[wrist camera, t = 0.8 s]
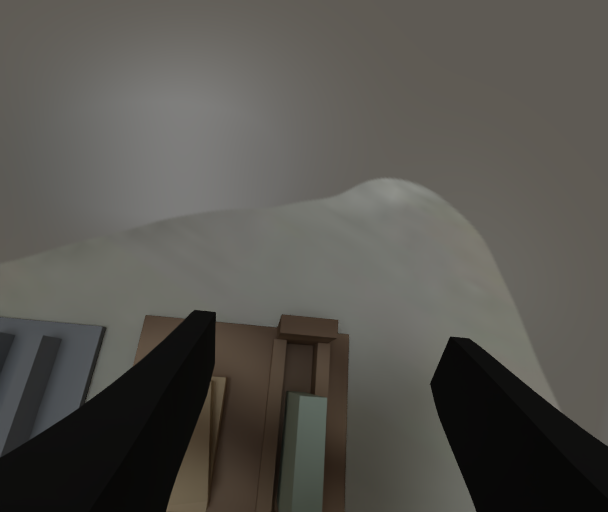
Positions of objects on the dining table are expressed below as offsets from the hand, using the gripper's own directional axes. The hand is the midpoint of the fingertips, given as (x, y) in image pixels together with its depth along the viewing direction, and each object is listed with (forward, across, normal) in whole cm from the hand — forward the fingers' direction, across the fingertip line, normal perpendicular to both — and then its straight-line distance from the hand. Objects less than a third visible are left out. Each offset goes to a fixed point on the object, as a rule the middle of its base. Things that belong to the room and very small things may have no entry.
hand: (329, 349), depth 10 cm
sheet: (+5, 0, +13) cm, 14 cm away
